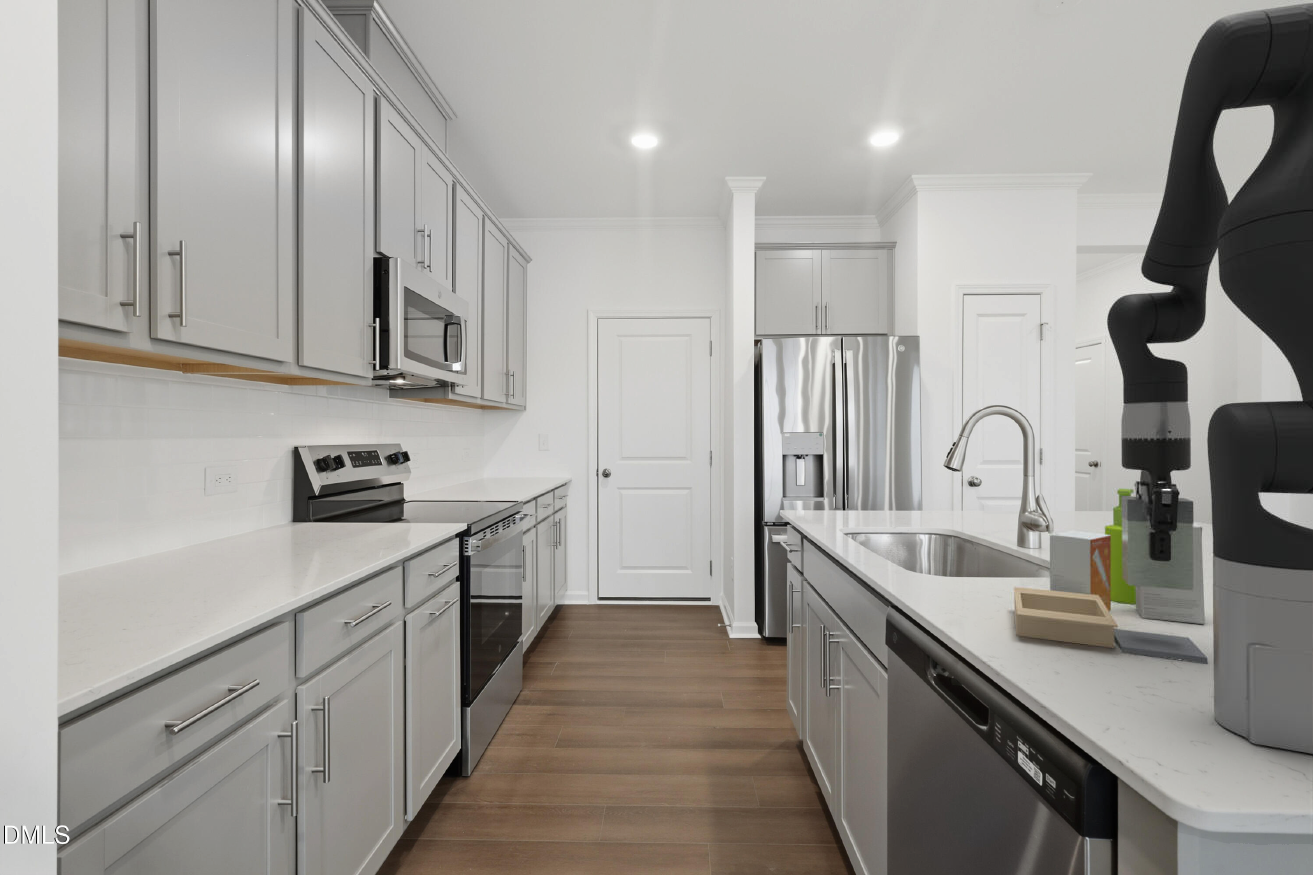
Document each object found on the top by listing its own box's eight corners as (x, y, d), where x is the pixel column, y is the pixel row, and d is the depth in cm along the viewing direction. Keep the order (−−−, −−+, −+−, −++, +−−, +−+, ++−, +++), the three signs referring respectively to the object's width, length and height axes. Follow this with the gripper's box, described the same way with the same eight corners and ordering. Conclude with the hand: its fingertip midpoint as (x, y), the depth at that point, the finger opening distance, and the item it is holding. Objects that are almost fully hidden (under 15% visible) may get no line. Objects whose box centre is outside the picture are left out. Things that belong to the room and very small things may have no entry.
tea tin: (1194, 590, 82) (1193, 501, 82) (1128, 584, 85) (1127, 499, 85) (1184, 583, 86) (1184, 498, 86) (1122, 577, 89) (1121, 496, 89)
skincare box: (1197, 615, 100) (1196, 521, 100) (1206, 626, 95) (1205, 526, 95) (1133, 608, 105) (1132, 517, 105) (1138, 618, 99) (1137, 522, 99)
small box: (1091, 619, 99) (1090, 539, 99) (1048, 610, 104) (1048, 534, 104) (1112, 610, 103) (1111, 534, 103) (1070, 602, 109) (1070, 529, 109)
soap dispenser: (1148, 598, 111) (1147, 488, 111) (1144, 606, 106) (1143, 491, 106) (1108, 592, 115) (1107, 487, 115) (1103, 600, 110) (1102, 489, 110)
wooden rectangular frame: (1118, 654, 83) (1117, 625, 83) (1017, 641, 89) (1017, 613, 89) (1098, 619, 98) (1098, 595, 98) (1014, 610, 104) (1013, 586, 104)
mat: (1207, 663, 79) (1207, 657, 79) (1121, 652, 84) (1121, 646, 84) (1188, 642, 87) (1188, 637, 87) (1110, 633, 92) (1110, 628, 92)
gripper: (1205, 436, 77) (1206, 570, 78) (1176, 434, 90) (1177, 550, 90) (1131, 436, 81) (1132, 564, 81) (1113, 435, 93) (1114, 546, 94)
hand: (1155, 556), depth 86 cm, fingers closed on tea tin, 4 cm apart
